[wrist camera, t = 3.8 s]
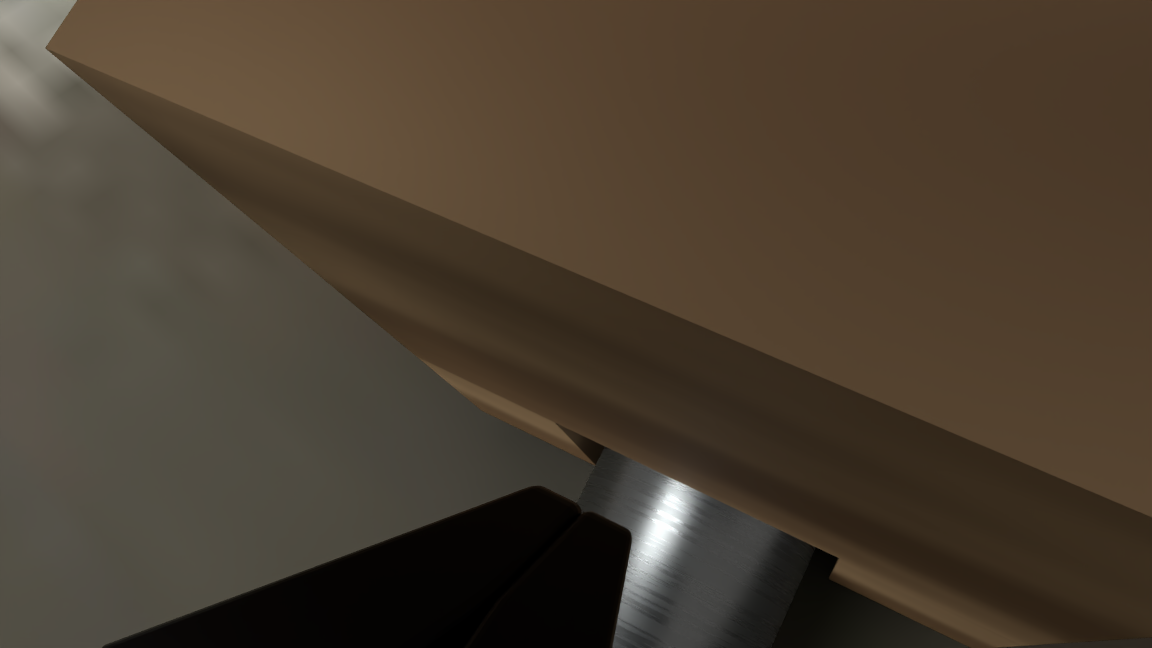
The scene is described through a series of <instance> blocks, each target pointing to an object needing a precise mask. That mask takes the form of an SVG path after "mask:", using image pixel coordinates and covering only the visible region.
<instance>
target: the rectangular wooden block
mask: <svg viewBox="0 0 1152 648" xmlns="http://www.w3.org/2000/svg"><path fill="white" fill-rule="evenodd" d="M46 49H47V50H48V51H49V52H51V53H52V54H53V55H54V56H55V57H57V58H58V59H59V60H60V61H61V62H63V63H64V64H65V65H66V66H67V67H69V68H70V69H71V70H72V71H73V72H75V73H76V74H77V75H78V76H79V77H81V78H82V79H83V80H84V81H85V82H87V83H88V84H89V85H90V86H92V87H93V88H94V89H95V90H96V91H98V92H99V93H100V94H101V95H102V96H104V97H105V98H106V99H107V100H108V101H110V102H111V103H112V104H113V105H114V106H116V107H117V108H118V109H119V110H120V111H122V112H123V113H124V114H125V115H126V116H128V117H129V118H130V119H131V120H132V121H134V122H135V123H136V124H137V125H138V126H140V127H141V128H142V129H143V130H144V131H146V132H147V133H148V134H149V135H151V136H152V137H153V138H154V139H155V140H157V141H158V142H159V143H160V144H161V145H163V146H164V147H165V148H166V149H167V150H169V151H170V152H171V153H172V154H173V155H175V156H176V157H177V158H178V159H179V160H181V161H182V162H183V163H184V164H185V165H187V166H188V167H189V168H190V169H191V170H193V171H194V172H195V173H196V174H197V175H199V176H200V177H201V178H202V179H204V180H205V181H206V182H207V183H208V184H210V185H211V186H212V187H213V188H214V189H216V190H217V191H218V192H219V193H220V194H222V195H223V196H224V197H225V198H226V199H228V200H229V201H230V202H231V203H232V204H234V205H235V206H236V207H237V208H238V209H240V210H241V211H242V212H243V213H244V214H246V215H247V216H248V217H249V218H250V219H252V220H253V221H254V222H255V223H257V224H258V225H259V226H260V227H261V228H263V229H264V230H265V231H266V232H267V233H269V234H270V235H271V236H272V237H273V238H275V239H276V240H277V241H278V242H279V243H281V244H282V245H283V246H284V247H285V248H287V249H288V250H289V251H290V252H291V253H293V254H294V255H295V256H296V257H297V258H299V259H300V260H301V261H302V262H303V263H305V264H306V265H307V266H308V267H309V268H311V269H312V270H313V271H314V272H316V273H317V274H318V275H319V276H320V277H322V278H323V279H324V280H325V281H326V282H328V283H329V284H330V285H331V286H332V287H334V288H335V289H336V290H337V291H338V292H340V293H341V294H342V295H343V296H344V297H346V298H347V299H348V300H349V301H350V302H352V303H353V304H354V305H355V306H356V307H358V308H359V309H360V310H361V311H362V312H364V313H365V314H366V315H367V316H369V317H370V318H371V319H372V320H373V321H375V322H376V323H377V324H378V325H379V326H381V327H382V328H383V329H384V330H385V331H387V332H388V333H389V334H390V335H391V336H393V337H394V338H395V339H396V340H397V341H399V342H400V343H401V344H402V345H403V346H405V347H406V348H407V349H408V350H409V351H411V352H412V353H413V354H414V355H415V356H417V357H418V358H419V359H420V360H422V361H423V362H424V363H425V364H426V365H428V366H429V367H430V368H431V369H432V370H434V371H435V372H436V373H437V374H438V375H440V376H441V377H442V378H443V379H444V380H446V381H447V382H448V383H449V384H450V385H452V386H453V387H454V388H455V389H456V390H458V391H459V392H460V393H461V394H462V395H464V396H465V397H466V398H467V399H468V400H470V401H471V402H472V403H473V404H474V405H476V406H477V407H478V408H479V409H481V410H482V411H484V412H486V413H488V414H490V415H492V416H494V417H496V418H498V419H500V420H502V421H504V422H506V423H508V424H510V425H512V426H515V427H517V428H519V429H521V430H523V431H525V432H527V433H529V434H531V435H533V436H535V437H537V438H539V439H541V440H543V441H545V442H547V443H550V444H552V445H554V446H556V447H558V448H560V449H562V450H564V451H566V452H568V453H570V454H572V455H574V456H576V457H578V458H580V459H582V460H585V461H587V462H589V463H591V464H593V465H596V463H597V461H598V459H599V457H600V455H601V453H602V451H603V449H604V447H607V448H609V449H611V450H613V451H616V452H618V453H620V454H622V455H624V456H626V457H628V458H630V459H632V460H634V461H637V462H639V463H641V464H643V465H645V466H647V467H649V468H651V469H653V470H655V471H657V472H660V473H662V474H664V475H666V476H668V477H670V478H672V479H674V480H676V481H678V482H680V483H683V484H685V485H687V486H689V487H691V488H693V489H695V490H697V491H699V492H701V493H704V494H706V495H708V496H710V497H712V498H714V499H716V500H718V501H720V502H722V503H724V504H727V505H729V506H731V507H733V508H735V509H737V510H739V511H741V512H743V513H745V514H748V515H750V516H752V517H754V518H756V519H758V520H760V521H762V522H764V523H766V524H768V525H771V526H773V527H775V528H777V529H779V530H781V531H783V532H785V533H787V534H789V535H792V536H794V537H796V538H798V539H800V540H802V541H804V542H806V543H808V544H810V545H812V546H815V547H817V548H819V549H821V550H823V551H825V552H827V553H829V554H831V555H833V556H836V557H838V558H837V561H836V563H835V565H834V567H833V570H832V572H831V574H830V577H829V579H830V580H832V581H834V582H836V583H838V584H840V585H842V586H844V587H846V588H848V589H850V590H852V591H854V592H857V593H859V594H861V595H863V596H865V597H867V598H869V599H871V600H873V601H875V602H877V603H879V604H881V605H883V606H885V607H887V608H890V609H892V610H894V611H896V612H898V613H900V614H902V615H904V616H906V617H908V618H910V619H912V620H914V621H916V622H918V623H920V624H922V625H925V626H927V627H929V628H931V629H933V630H935V631H937V632H939V633H941V634H943V635H945V636H947V637H949V638H951V639H953V640H955V641H958V642H960V643H962V644H964V645H966V646H968V647H970V648H998V647H1013V646H1028V645H1044V644H1059V643H1074V642H1089V641H1104V640H1120V639H1135V638H1150V637H1152V0H77V2H76V3H75V5H74V6H73V8H72V9H71V11H70V12H69V14H68V15H67V16H66V18H65V19H64V21H63V22H62V24H61V25H60V27H59V28H58V30H57V31H56V33H55V34H54V36H53V37H52V39H51V40H50V42H49V43H48V45H47V46H46Z"/></svg>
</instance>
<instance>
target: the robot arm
mask: <svg viewBox="0 0 1152 648" xmlns="http://www.w3.org/2000/svg"><path fill="white" fill-rule="evenodd" d="M631 545H632V533H631V532H630V530H628V529H627V528H625V527H623V526H621V525H619V524H617V523H615V522H613V521H611V520H609V519H607V518H605V517H603V516H601V515H599V514H597V513H595V512H592V511H588V512H584V513H583V511H582V509H581V508H580V506H579V505H578V504H577V503H575V502H573V501H571V500H569V499H567V498H565V497H563V496H561V495H559V494H557V493H555V492H553V491H551V490H549V489H547V488H545V487H542V486H531V487H528V488H525V489H522V490H520V491H517V492H514V493H512V494H509V495H506V496H504V497H501V498H498V499H496V500H493V501H490V502H488V503H485V504H482V505H480V506H477V507H474V508H471V509H469V510H466V511H463V512H461V513H458V514H455V515H453V516H450V517H447V518H445V519H442V520H439V521H437V522H434V523H431V524H429V525H426V526H423V527H420V528H418V529H415V530H412V531H410V532H407V533H404V534H402V535H399V536H396V537H394V538H391V539H388V540H386V541H383V542H380V543H378V544H375V545H372V546H369V547H367V548H364V549H361V550H359V551H356V552H353V553H351V554H348V555H345V556H343V557H340V558H337V559H335V560H332V561H329V562H327V563H324V564H321V565H318V566H316V567H313V568H310V569H308V570H305V571H302V572H300V573H297V574H294V575H292V576H289V577H286V578H284V579H281V580H278V581H275V582H273V583H270V584H267V585H265V586H262V587H259V588H257V589H254V590H251V591H249V592H246V593H243V594H241V595H238V596H235V597H233V598H230V599H227V600H224V601H222V602H219V603H216V604H214V605H211V606H208V607H206V608H203V609H200V610H198V611H195V612H192V613H190V614H187V615H184V616H182V617H179V618H176V619H173V620H171V621H168V622H165V623H163V624H160V625H157V626H155V627H152V628H149V629H147V630H144V631H141V632H139V633H136V634H133V635H131V636H128V637H125V638H122V639H120V640H117V641H114V642H112V643H109V644H106V645H104V646H103V647H102V648H612V647H613V642H614V636H615V631H616V626H617V620H618V615H619V609H620V604H621V599H622V593H623V588H624V583H625V577H626V572H627V567H628V561H629V556H630V551H631Z"/></svg>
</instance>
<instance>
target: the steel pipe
mask: <svg viewBox="0 0 1152 648" xmlns="http://www.w3.org/2000/svg"><path fill="white" fill-rule="evenodd" d="M577 504H578V505H579V506H580V508H581V509H582V511H583V513H584V512H588V511H592V512H595V513H597V514H599V515H601V516H603V517H605V518H607V519H609V520H611V521H613V522H615V523H617V524H619V525H621V526H623V527H625V528H627V529H628V530H630V532H631V533H632V545H631V551H630V556H629V561H628V567H627V572H626V577H625V583H624V588H623V593H622V599H621V604H620V609H619V615H618V620H617V626H616V631H615V636H614V642H613V647H612V648H771V647H772V645H773V643H774V640H775V638H776V636H777V634H778V631H779V629H780V627H781V625H782V622H783V620H784V618H785V616H786V613H787V611H788V609H789V607H790V604H791V602H792V600H793V598H794V595H795V593H796V591H797V589H798V586H799V584H800V582H801V580H802V577H803V575H804V573H805V571H806V568H807V566H808V564H809V562H810V559H811V557H812V555H813V553H814V551H815V548H816V547H815V546H812V545H810V544H808V543H806V542H804V541H802V540H800V539H798V538H796V537H794V536H792V535H789V534H787V533H785V532H783V531H781V530H779V529H777V528H775V527H773V526H771V525H768V524H766V523H764V522H762V521H760V520H758V519H756V518H754V517H752V516H750V515H748V514H745V513H743V512H741V511H739V510H737V509H735V508H733V507H731V506H729V505H727V504H724V503H722V502H720V501H718V500H716V499H714V498H712V497H710V496H708V495H706V494H704V493H701V492H699V491H697V490H695V489H693V488H691V487H689V486H687V485H685V484H683V483H680V482H678V481H676V480H674V479H672V478H670V477H668V476H666V475H664V474H662V473H660V472H657V471H655V470H653V469H651V468H649V467H647V466H645V465H643V464H641V463H639V462H637V461H634V460H632V459H630V458H628V457H626V456H624V455H622V454H620V453H618V452H616V451H613V450H611V449H609V448H607V447H604V449H603V451H602V453H601V455H600V457H599V459H598V461H597V463H596V465H595V467H594V469H593V471H592V473H591V475H590V477H589V479H588V481H587V483H586V485H585V487H584V489H583V492H582V494H581V496H580V498H579V500H578V502H577Z"/></svg>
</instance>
